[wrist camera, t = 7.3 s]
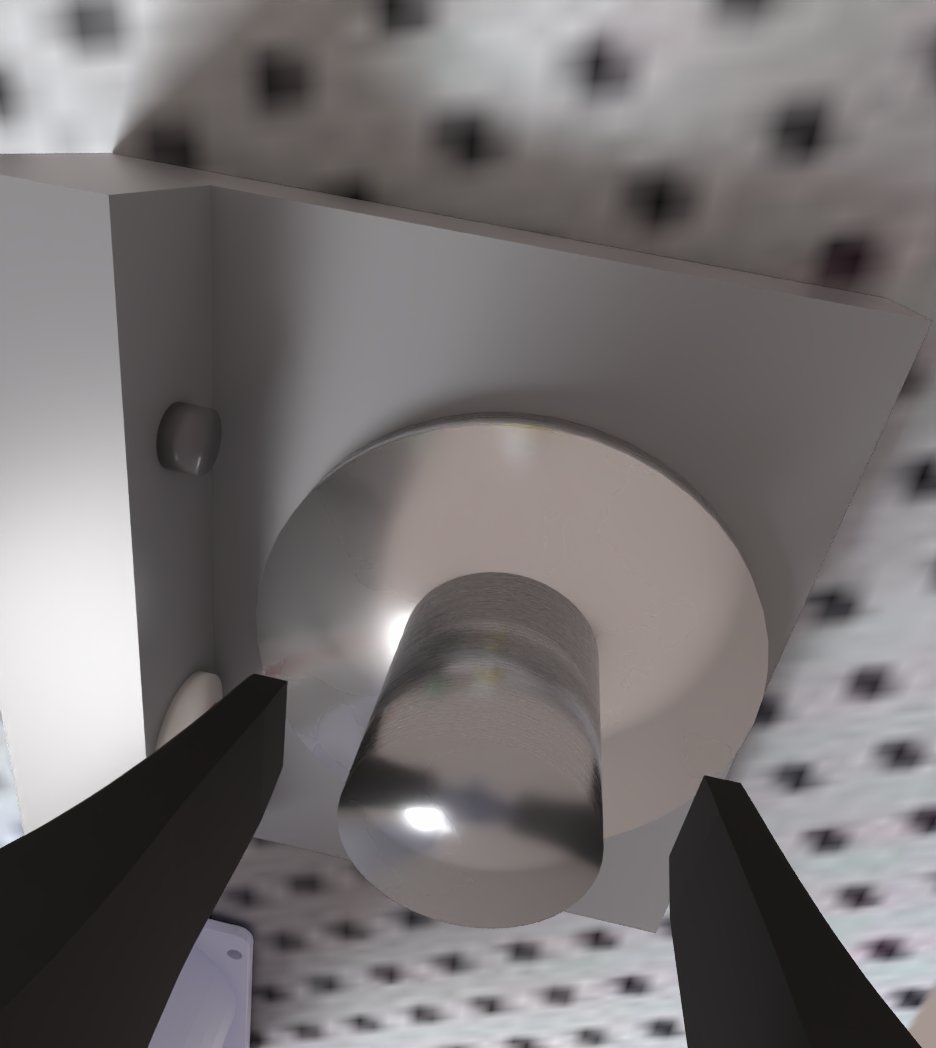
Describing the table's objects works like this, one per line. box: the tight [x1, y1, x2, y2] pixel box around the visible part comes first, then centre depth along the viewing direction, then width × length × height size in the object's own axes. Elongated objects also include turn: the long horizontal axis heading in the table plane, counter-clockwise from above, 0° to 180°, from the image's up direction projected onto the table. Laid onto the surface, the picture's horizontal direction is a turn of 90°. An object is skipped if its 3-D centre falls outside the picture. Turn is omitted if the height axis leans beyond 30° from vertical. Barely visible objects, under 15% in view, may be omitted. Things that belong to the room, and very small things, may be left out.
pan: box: [256, 412, 768, 839], centre depth 15 cm, size 10×10×1 cm
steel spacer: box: [337, 572, 604, 928], centre depth 13 cm, size 4×4×4 cm
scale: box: [0, 153, 932, 933], centre depth 15 cm, size 16×15×5 cm
